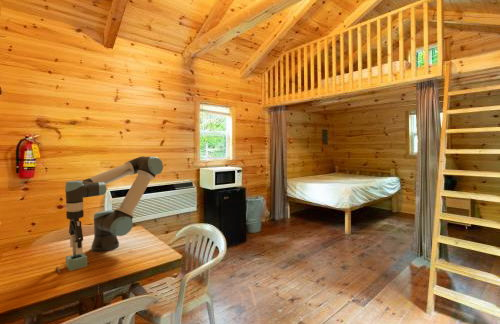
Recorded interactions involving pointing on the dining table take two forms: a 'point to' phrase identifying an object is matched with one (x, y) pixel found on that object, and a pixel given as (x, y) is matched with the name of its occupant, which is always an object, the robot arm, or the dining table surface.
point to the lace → (58, 270)
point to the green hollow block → (76, 262)
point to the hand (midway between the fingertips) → (76, 250)
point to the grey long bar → (74, 247)
